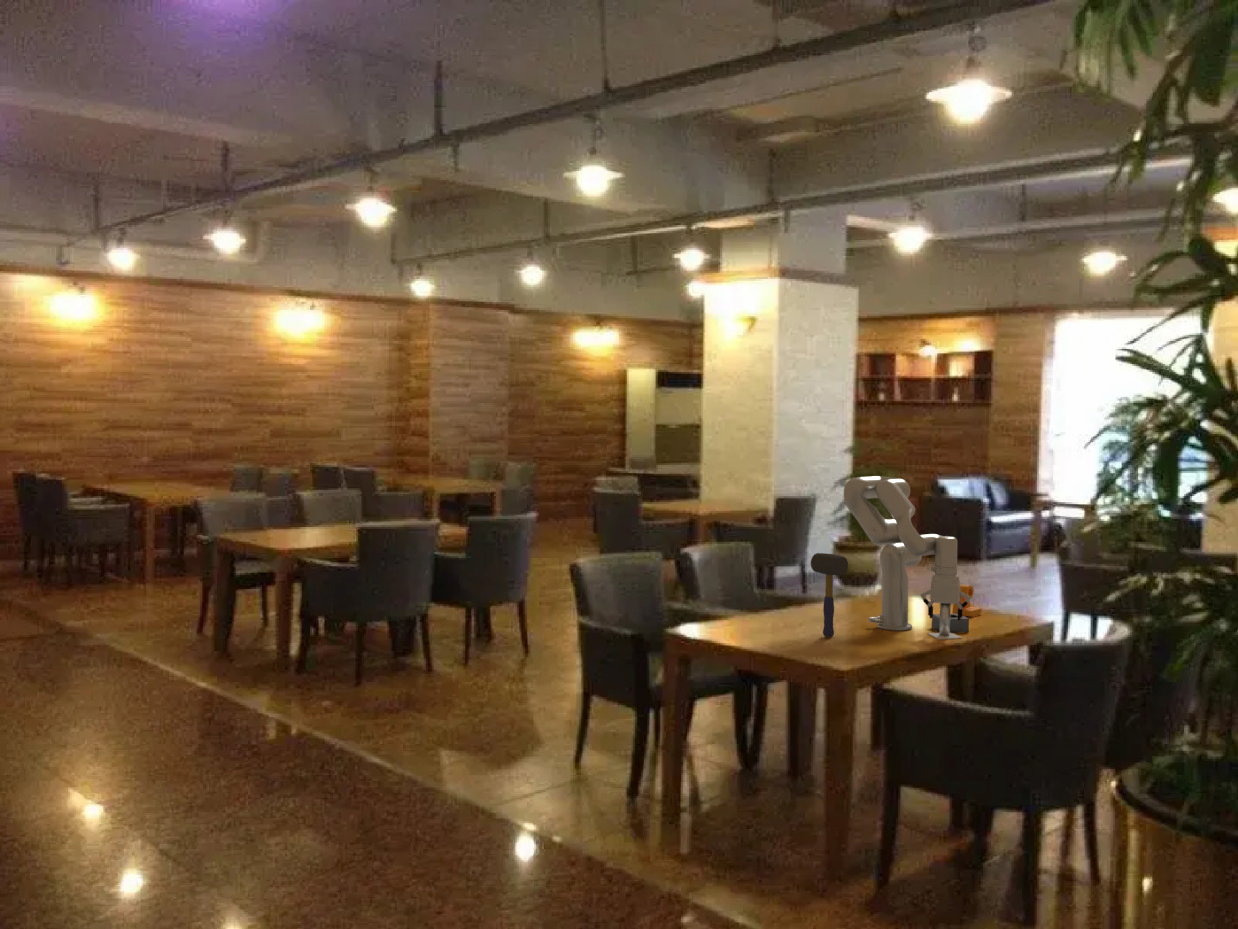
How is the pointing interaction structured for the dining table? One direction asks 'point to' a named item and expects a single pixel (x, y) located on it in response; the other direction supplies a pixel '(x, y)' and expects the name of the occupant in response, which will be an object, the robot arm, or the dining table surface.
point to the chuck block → (952, 623)
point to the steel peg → (945, 619)
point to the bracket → (968, 609)
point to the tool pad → (937, 636)
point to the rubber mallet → (829, 583)
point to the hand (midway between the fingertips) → (945, 618)
